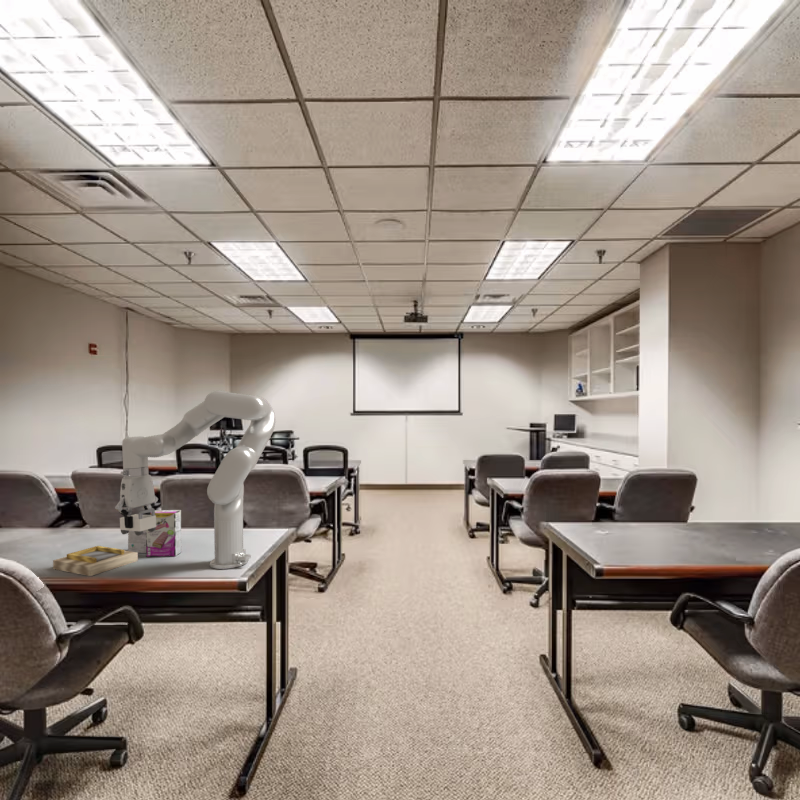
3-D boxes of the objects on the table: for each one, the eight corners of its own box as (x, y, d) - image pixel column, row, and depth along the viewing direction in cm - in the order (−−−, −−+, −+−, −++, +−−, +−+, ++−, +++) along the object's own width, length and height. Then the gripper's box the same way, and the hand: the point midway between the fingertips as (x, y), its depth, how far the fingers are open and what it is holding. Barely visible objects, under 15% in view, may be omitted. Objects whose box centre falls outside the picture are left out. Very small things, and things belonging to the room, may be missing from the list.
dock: (137, 560, 172) (137, 548, 172) (90, 576, 157) (90, 562, 157) (101, 555, 180) (101, 543, 180) (53, 569, 165) (53, 555, 165)
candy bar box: (145, 557, 176) (145, 512, 176) (152, 553, 181) (152, 510, 181) (175, 556, 176) (175, 512, 176) (181, 552, 181) (181, 509, 181)
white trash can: (156, 531, 164) (155, 508, 164) (140, 535, 158) (139, 511, 159) (136, 529, 168) (135, 506, 168) (120, 534, 163) (119, 510, 163)
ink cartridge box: (160, 549, 187) (160, 512, 187) (151, 553, 181) (151, 515, 181) (136, 548, 188) (136, 511, 188) (127, 553, 182) (127, 515, 183)
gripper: (119, 476, 154) (121, 532, 154) (165, 469, 170) (167, 520, 170) (104, 476, 157) (106, 531, 157) (150, 469, 173) (152, 519, 173)
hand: (138, 525), depth 163 cm, fingers closed on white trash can, 6 cm apart
